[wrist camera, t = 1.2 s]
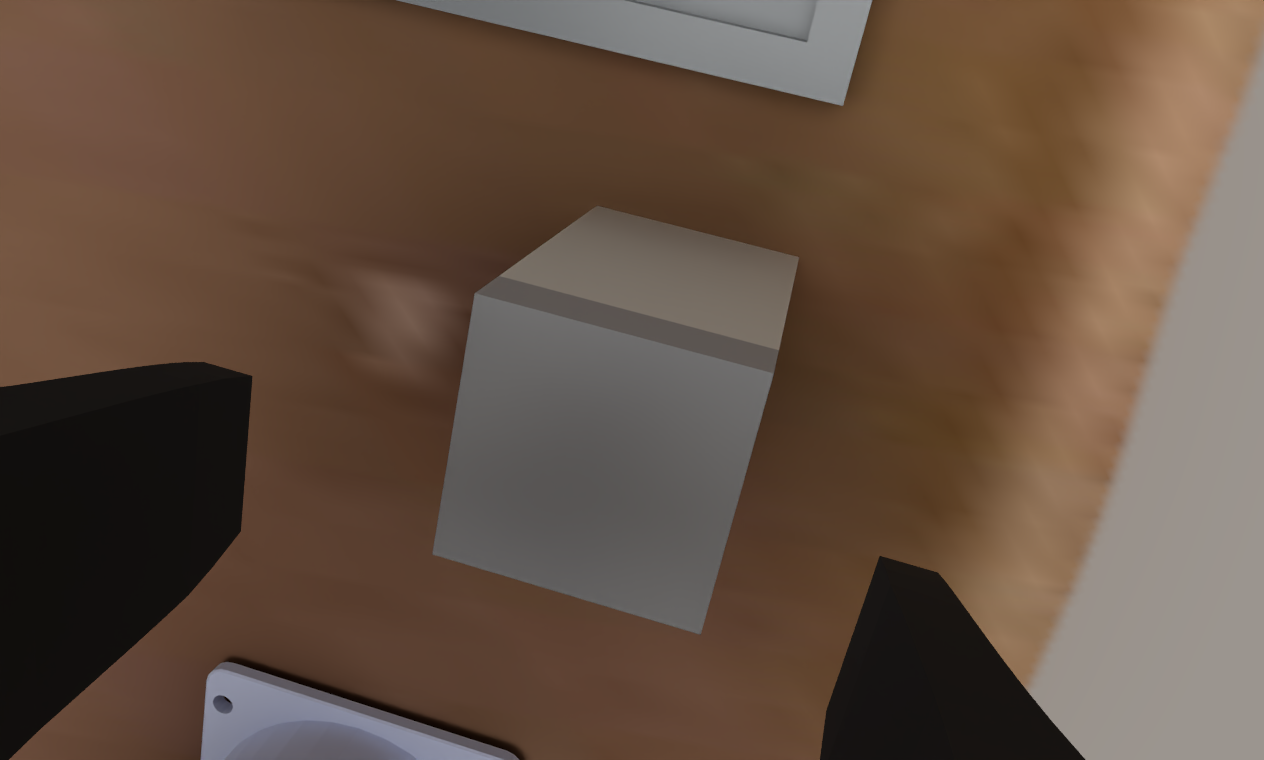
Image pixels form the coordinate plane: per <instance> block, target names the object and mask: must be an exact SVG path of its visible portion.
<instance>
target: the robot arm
mask: <svg viewBox="0 0 1264 760" xmlns="http://www.w3.org/2000/svg"><path fill="white" fill-rule="evenodd" d="M251 387H252V376H250V375H247V374H243V373H240V372H236V371H233V370H229V369H226V368H222V367H219V366H215V365H212V364H208V363H205V362H183V363H169V364H159V365H150V366H142V367H134V368H127V369H120V370H113V371H106V372H100V373H93V374H86V375H80V376H73V377H67V378H60V379H54V380H47V381H40V382H34V383H27V384H21V385H14V386H6V387H0V760H9V759H10V758H11V757H12V756H13V755H14V754H15V753H16V752H17V751H18V750H19V749H20V748H21V747H22V746H23V745H24V744H25V743H26V742H27V741H28V740H29V739H30V738H31V737H33V736H34V735H35V734H36V733H37V732H38V731H39V730H40V729H41V728H42V727H43V726H44V725H46V724H47V723H48V722H49V721H50V720H51V719H52V718H53V717H54V716H56V715H57V714H58V713H59V712H60V711H61V710H62V709H63V708H65V707H66V706H67V705H68V704H69V703H70V702H71V701H72V700H73V699H75V698H76V697H77V696H78V695H79V694H80V693H81V692H82V691H84V690H85V689H86V688H87V687H88V686H89V685H90V684H91V683H92V682H94V681H95V680H96V679H97V678H98V677H99V676H100V675H101V674H102V673H104V672H105V671H106V670H107V669H108V668H109V667H110V666H111V665H113V664H114V663H115V662H116V661H117V660H118V659H119V658H120V657H122V656H123V655H124V654H125V653H126V652H127V651H128V650H129V649H130V648H132V647H133V646H134V645H135V644H136V643H137V642H138V641H139V640H140V639H142V638H143V637H144V636H145V635H146V634H147V633H148V632H149V631H150V630H151V629H152V628H154V627H155V626H156V625H157V624H158V623H159V622H160V621H161V620H162V619H163V618H164V617H166V616H167V615H168V614H169V613H170V612H171V611H172V610H173V609H174V608H175V607H176V606H177V605H178V604H179V603H181V602H182V601H183V600H184V599H185V598H186V597H187V596H188V595H189V594H190V593H191V591H192V590H193V589H194V588H195V587H196V586H197V584H198V583H199V582H200V581H201V580H202V579H203V577H204V576H205V575H206V574H207V573H208V572H209V571H210V569H211V568H212V567H213V566H214V565H215V563H216V562H217V561H218V559H219V558H220V557H221V556H222V554H223V553H224V552H225V551H226V549H227V548H228V547H229V546H230V544H231V543H232V542H233V540H234V539H235V538H236V537H237V535H238V534H239V533H240V532H241V521H242V508H243V495H244V481H245V468H246V454H247V441H248V428H249V414H250V401H251ZM223 696H225V697H227V698H228V699H229V700H230V701H231V702H232V703H230V702H228V701H226V700H225V698H224V697H223ZM201 760H519V759H518V758H517V757H516V756H515V755H514V754H512V753H510V752H508V751H506V750H503V749H500V748H497V747H494V746H491V745H488V744H485V743H482V742H478V741H475V740H472V739H469V738H466V737H463V736H460V735H457V734H454V733H450V732H447V731H444V730H441V729H438V728H435V727H432V726H429V725H425V724H422V723H419V722H416V721H413V720H410V719H407V718H404V717H401V716H397V715H394V714H391V713H388V712H385V711H382V710H379V709H376V708H373V707H369V706H366V705H363V704H360V703H357V702H354V701H351V700H348V699H345V698H341V697H338V696H335V695H332V694H329V693H326V692H323V691H320V690H317V689H313V688H310V687H307V686H304V685H301V684H298V683H295V682H292V681H289V680H285V679H282V678H279V677H276V676H273V675H270V674H267V673H264V672H261V671H257V670H254V669H251V668H248V667H245V666H242V665H239V664H236V663H231V662H224V663H220V664H219V665H218V666H217V667H216V668H215V669H214V670H213V671H212V672H211V673H210V674H209V675H208V678H207V681H206V694H205V708H204V721H203V734H202V748H201ZM820 760H1085V759H1084V758H1083V757H1082V755H1081V754H1080V753H1079V752H1078V751H1077V750H1076V748H1075V747H1074V746H1073V745H1072V744H1071V743H1070V742H1069V741H1068V739H1067V738H1066V737H1065V736H1064V735H1063V734H1062V733H1061V731H1060V730H1059V729H1058V728H1057V727H1056V726H1055V724H1054V723H1053V722H1052V721H1051V720H1050V719H1049V717H1048V716H1047V715H1046V714H1045V712H1044V711H1043V710H1042V709H1041V708H1040V706H1039V705H1038V704H1037V703H1036V701H1035V700H1034V699H1033V698H1032V697H1031V695H1030V694H1029V693H1028V692H1027V690H1026V689H1025V688H1024V686H1023V685H1022V684H1021V683H1020V681H1019V680H1018V679H1017V678H1016V676H1015V675H1014V674H1013V672H1012V671H1011V670H1010V668H1009V667H1008V666H1007V664H1006V663H1005V662H1004V661H1003V659H1002V658H1001V657H1000V655H999V654H998V652H997V651H996V650H995V648H994V647H993V646H992V644H991V643H990V642H989V640H988V639H987V638H986V636H985V635H984V633H983V632H982V631H981V629H980V628H979V627H978V625H977V624H976V622H975V621H974V620H973V618H972V617H971V616H970V614H969V613H968V611H967V610H966V609H965V607H964V606H963V605H962V603H961V602H960V600H959V599H958V598H957V596H956V595H955V594H954V592H953V591H952V590H951V588H950V587H949V586H948V584H947V583H946V582H945V580H944V579H943V578H942V577H941V576H940V575H939V573H937V572H934V571H930V570H927V569H923V568H920V567H916V566H913V565H909V564H906V563H903V562H899V561H896V560H892V559H889V558H885V557H882V556H880V557H879V560H878V563H877V566H876V569H875V572H874V575H873V577H872V580H871V583H870V586H869V589H868V592H867V595H866V598H865V601H864V603H863V606H862V609H861V612H860V615H859V618H858V621H857V624H856V627H855V630H854V632H853V635H852V638H851V641H850V644H849V647H848V650H847V653H846V656H845V658H844V661H843V664H842V667H841V670H840V673H839V676H838V679H837V682H836V684H835V687H834V690H833V693H832V696H831V699H830V702H829V705H828V708H827V711H826V718H825V725H824V733H823V741H822V748H821V756H820Z"/></svg>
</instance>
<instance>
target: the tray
mask: <svg viewBox="0 0 1264 760" xmlns="http://www.w3.org/2000/svg"><path fill="white" fill-rule="evenodd" d="M398 1H402V2H406V3H410V4H415V5H419V6H423V7H427V8H432V9H436V10H440V11H444V12H448V13H453V14H457V15H461V16H465V17H470V18H474V19H478V20H482V21H486V22H491V23H495V24H499V25H503V26H508V27H512V28H516V29H520V30H524V31H529V32H533V33H537V34H541V35H546V36H550V37H554V38H558V39H562V40H567V41H571V42H575V43H579V44H584V45H588V46H592V47H596V48H600V49H605V50H609V51H613V52H617V53H622V54H626V55H630V56H634V57H638V58H643V59H647V60H651V61H655V62H659V63H664V64H668V65H672V66H676V67H681V68H685V69H689V70H693V71H697V72H702V73H706V74H710V75H714V76H719V77H723V78H727V79H731V80H735V81H740V82H744V83H748V84H752V85H757V86H761V87H765V88H769V89H773V90H778V91H782V92H786V93H790V94H795V95H799V96H803V97H807V98H811V99H816V100H820V101H824V102H828V103H833V104H837V105H841V106H843V104H844V100H845V96H846V93H847V89H848V86H849V82H850V78H851V75H852V71H853V68H854V64H855V60H856V57H857V53H858V50H859V46H860V43H861V39H862V35H863V32H864V28H865V25H866V21H867V17H868V14H869V10H870V7H871V3H872V0H398Z"/></svg>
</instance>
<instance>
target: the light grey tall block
mask: <svg viewBox="0 0 1264 760" xmlns="http://www.w3.org/2000/svg"><path fill="white" fill-rule="evenodd" d="M798 260H799V257H797V256H793V255H789V254H785V253H781V252H777V251H773V250H769V249H765V248H761V247H757V246H753V245H749V244H746V243H742V242H738V241H734V240H730V239H726V238H722V237H718V236H714V235H710V234H706V233H702V232H699V231H695V230H691V229H687V228H683V227H679V226H675V225H671V224H667V223H663V222H659V221H655V220H651V219H648V218H644V217H640V216H636V215H632V214H628V213H624V212H620V211H616V210H612V209H608V208H604V207H600V206H596V207H594V208H593V209H592V210H590V211H589V212H587V213H586V214H585V215H583V216H582V217H580V218H579V219H578V220H576V221H575V222H573V223H572V224H571V225H569V226H568V227H566V228H565V229H564V230H562V231H561V232H559V233H558V234H557V235H555V236H554V237H552V238H551V239H550V240H548V241H547V242H546V243H544V244H543V245H541V246H540V247H539V248H537V249H536V250H534V251H533V252H532V253H530V254H529V255H527V256H526V257H525V258H523V259H522V260H520V261H519V262H518V263H516V264H515V265H513V266H512V267H511V268H509V269H508V270H506V271H505V272H504V273H502V274H501V275H500V276H498V277H497V278H495V279H494V280H493V281H491V282H490V283H488V284H487V285H486V286H484V287H483V288H481V289H480V290H479V291H477V292H476V293H475V295H474V301H473V307H472V314H471V320H470V326H469V332H468V338H467V344H466V351H465V357H464V363H463V369H462V375H461V381H460V387H459V394H458V400H457V406H456V412H455V418H454V424H453V431H452V437H451V443H450V449H449V455H448V461H447V468H446V474H445V480H444V486H443V492H442V498H441V505H440V511H439V517H438V523H437V529H436V535H435V542H434V548H433V555H436V556H440V557H443V558H446V559H450V560H453V561H456V562H460V563H463V564H466V565H470V566H473V567H476V568H480V569H483V570H486V571H490V572H493V573H496V574H500V575H503V576H506V577H510V578H513V579H516V580H520V581H523V582H526V583H530V584H533V585H536V586H540V587H543V588H546V589H550V590H553V591H556V592H560V593H563V594H566V595H570V596H573V597H576V598H580V599H583V600H586V601H590V602H593V603H596V604H600V605H603V606H606V607H610V608H613V609H617V610H620V611H623V612H627V613H630V614H633V615H637V616H640V617H643V618H647V619H650V620H653V621H657V622H660V623H663V624H667V625H670V626H673V627H677V628H680V629H683V630H687V631H690V632H693V633H697V634H700V635H701V631H702V628H703V624H704V621H705V617H706V613H707V610H708V606H709V603H710V599H711V596H712V592H713V588H714V585H715V581H716V578H717V574H718V571H719V567H720V564H721V560H722V556H723V553H724V549H725V546H726V542H727V539H728V535H729V531H730V528H731V524H732V521H733V517H734V514H735V510H736V507H737V503H738V499H739V496H740V492H741V489H742V485H743V482H744V478H745V475H746V471H747V467H748V464H749V460H750V457H751V453H752V450H753V446H754V442H755V439H756V435H757V432H758V428H759V425H760V421H761V418H762V414H763V410H764V407H765V403H766V400H767V396H768V393H769V389H770V386H771V382H772V378H773V375H774V371H775V366H776V361H777V357H778V352H779V348H780V343H781V338H782V334H783V329H784V325H785V320H786V315H787V311H788V306H789V302H790V297H791V293H792V288H793V283H794V279H795V274H796V270H797V265H798Z"/></svg>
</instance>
